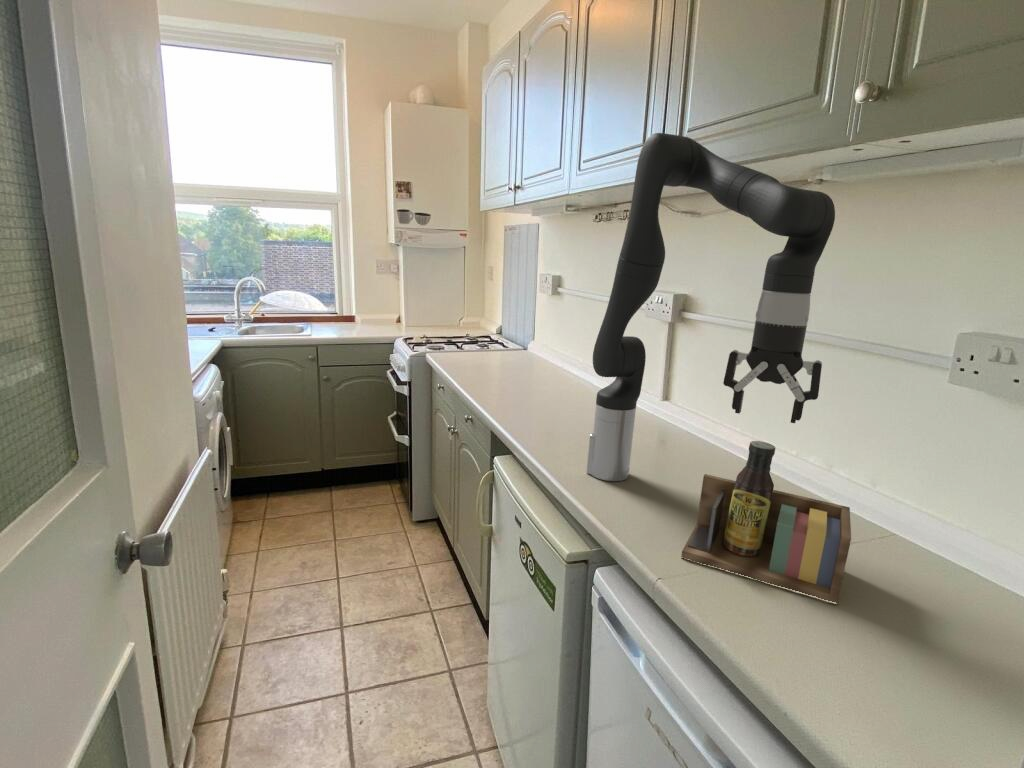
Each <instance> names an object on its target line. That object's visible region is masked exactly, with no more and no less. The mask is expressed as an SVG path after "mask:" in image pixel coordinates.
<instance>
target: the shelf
mask: <svg viewBox="0 0 1024 768" xmlns="http://www.w3.org/2000/svg"><path fill="white" fill-rule="evenodd" d="M735 483H736V480H734V479H728V478H723V477H719V476H715V475H711V474H707V473H705V474H704V475H703V479H702V485H701V490H700V491H701V492H700V499H699V500H700V501H699V506H698V513H697V519H696V524H695V527H694V529H693V530H692V532H691V534H690V536H689V538H688V540H687V541H686V543H685V544H684V547H683V549H682V550H681V556H680V557H683V558H686V559H690V560H692V561H695V562H699V563H702V564H706V565H710V566H714V567H717V568H721V569H724V570H728V571H730V572H734V573H738V574H741V575H744V576H748V577H751V578H753V579H757V580H760V581H764V582H767V583H770V584H774V585H777V586H781V587H785V588H788V589H792V590H795V591H799V592H802V593H805V594H808V595H812V596H816V597H818V598H821V599H824V600H828V601H832V602H836V603H837V604H838V602H839V597H840V592H841V589H842V588H841V587H842V583H843V579H844V574H845V568H846V564H847V559H848V555H849V551H850V546H851V541H852V527H851V526H852V525H851V507H849V506H846V505H841V504H837V503H833V502H832V503H831V502H827V501H825V500H820V499H815V498H811V497H806V496H803V495H798V494H794V493H789V492H785V491H780V490H777V489H776V490H775V489H773V492H772V496H771V504H770V508H769V513H768V517H767V522H766V526H765V531H764V535H763V540H762V544H761V547H760V550H759V553H758V554H756V555H754V556H752V557H747V556H743V555H737V554H735V553H733V552H731V551H729V550H728V549H727V548H726V547H725V546H724V543H723V542H724V533H725V528H726V523H727V518H728V513H729V508H730V503H731V499H732V494H733V490H734V488H735ZM721 490H725V496H724V502H723V509H722V515H721V522H720V528H719V533H718V535H717V538H716V540H715V542H714V544H713V546H712V549H711V551H710V553H708V552H705V551H701V550H698V549H694V548H691V547H688V544H689V542H690V540H691V539H692V537H693V535H694V533H695V531H696V529H697V527H698V526H703V527H707V528H710V522H711V515H712V509H713V506H714V504H715V502H716V500H717V498H718V496H719V494H720V492H721ZM782 504H784V505H788V506H792V507H797V510H796V511H797V512H801V513H805V514H809V512H810V508H812V509H817V510H821V511H825V512H827V517H831V518H835V519H840V543H839V548H838V553H837V557H836V562H835V567H834V572H833V577H832V581H831V586H830V588H827V587H824V586H821V585H817V584H814V583H810V582H807V581H804V580H800V579H797V578H793V577H790V576H786V575H783V574H780V573H776V572H773V571H769V566H770V561H771V555H772V550H773V544H774V539H775V533H776V527H777V522H778V518H779V514H780V510H781V506H782ZM692 561H691V562H692ZM695 562H694V563H695ZM702 564H701V565H702Z"/></svg>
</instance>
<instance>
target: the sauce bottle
mask: <svg viewBox="0 0 1024 768" xmlns="http://www.w3.org/2000/svg"><path fill="white" fill-rule="evenodd" d="M775 452H776V447H775V445H774V444H771V443H769V442H766V441H761V440H752V441H750V443H749V445H748V457H747V462H746V464H745V466H744V467H743V468H742V469H741V470H740V471H739V472H738V474H737V475H736V479H735V481H736V483H735V488H734V490H733V494H732V499H731V503H730V508H729V513H728V518H727V523H726V528H725V533H724V542H723V543H724V546H725V547H726V548H727V549H728V550H729V551H731V552H733V553H735V554H737V555H743V556H747V557H752V556H754V555H756V554H758V553H759V550H760V547H761V544H762V540H763V535H764V531H765V526H766V522H767V517H768V513H769V508H770V504H771V496H772V492H773V490H774V487H775V484H774V482H773V479H772V476H771V473H770V472H771V465H772V461H773V457H774V455H775Z"/></svg>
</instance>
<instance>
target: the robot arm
mask: <svg viewBox="0 0 1024 768" xmlns="http://www.w3.org/2000/svg"><path fill="white" fill-rule="evenodd" d="M636 164H637V165H636V170H635V177H634V181H633V182H634V183H633V191H632V197H631V202H630V203H631V205H630V211H629V216H628V219H627V224H626V230H625V234H624V238H623V243H622V245H621V249H620V251H619V252H620V253H619V257H618V259H617V260H618V261H617V264H616V269H615V275H614V278H613V284H612V288H611V291H610V296H609V300H608V303H607V306H606V307H607V308H606V311H605V314H604V317H603V318H602V319H603V320H602V323H601V325H600V327H599V330H598V331H599V332H598V334H597V338H596V340H595V343H594V347H593V351H592V367H593V371H594V372H595V374H596V375H597V376H599V377H602V378H615V380H613V382H612V383H610V384H609V385H607V386H605V387H604V388H601V389H599V390H598V392H597V393H596V398H595V399H596V401H595V409H594V410H595V411H594V419H593V420H594V422H593V431H592V433H591V434H590V435H589V441H588V453H587V454H588V455H587V464H586V474H589V475H591V476H592V477H594V478H595V479H596V478H597V479H598V480H603V481H606V482H607V481H608V482H622V481H625V480H627V479H628V478H629V475H630V474H629V473H630V466H631V465H630V464H631V457H632V456H631V455H632V449H633V448H632V447H633V439H634V431H635V430H634V428H635V420H636V419H635V418H636V412H637V403H638V400H639V398H640V395H641V391H642V387H643V380H644V379H643V377H644V373H645V369H646V368H645V367H646V359H647V358H646V357H647V356H646V348H645V345H644V342H643V341H642V340H641V339H640V338H639V337H637V336H629V335H628V336H627V335H626V336H625V335H624V334H625V331H626V329H627V326H628V324H629V322H630V321H631V319H632V318H633V317H634V315H635V314H636V313H637V312H638V311H639V310H640V308H641V307H642V306H643V305H644V304H645V302H647V301H648V299H650V298H651V296H652V294H653V293H654V292H655V290H656V289H657V287H658V284H659V281H660V278H661V274H662V270H663V268H664V264H665V260H666V246H665V241H664V237H663V233H662V230H661V225H660V219H659V209H660V202H661V198H662V193H663V189H664V187H665V186H666V187H671V188H672V187H674V188H676V187H677V188H678V187H687V188H694V189H698V190H702V191H705V192H707V193H708V194H709V195H711V196H712V197H713V199H714V200H715V201H716V202H717V203H719V204H720V205H721V206H723V207H725V208H727V209H728V210H731V211H733V212H735V213H738V214H740V215H741V216H744V217H746V218H750V220H752V221H753V222H754V223H755V224H756V225H758V226H759V227H760V228H762V229H763V230H765V231H767V232H769V233H772V234H774V235H778V236H781V237H788V238H787V241H786V243H785V245H784V248H783V250H782V251H781V252H778V253H775V254H773V255H770V257H768V260H767V262H766V267H765V270H764V277H763V283H762V290H761V294H760V298H759V300H758V303H757V304H758V305H757V309H756V311H755V321H754V328H753V334H752V340H751V341H752V342H751V347H750V348H751V349H750V351H749V352H748V353H745V352H741V351H739V350H737V349H734V350H732V351H730V352H729V355H728V360H727V364H726V369H725V373H724V378H723V382H722V383H723V385H724V386H726V387H729V388H730V389H732V390H733V395H732V396H733V397H732V401H731V407H732V410H735V411H734V414H737V415H738V414H740V413H741V412H742V407H743V401H744V395H745V390H744V388H745V387H747V385H749V384H750V383H752V382H753V381H754V380H755V379H757V380H759V382H762V383H767V382H769V383H770V382H771V383H773V384H776V385H781V384H786V385H787V387H788V389H789V390H790V391H791V393H792V394H793V397H794V402H793V407H792V411H791V418H790V424H791V423H792V424H796V422H797V421H800V420H801V418H802V415H803V410H804V406H805V405H804V404H805V402H806V401H807V402H808V401H811V400H812V401H815V400H817V399H818V398H819V392H820V391H819V390H820V384H821V374H822V368H823V362H822V361H820V360H814V361H809V360H804V359H803V356H802V355H803V348H804V343H805V338H806V332H807V327H808V322H809V316H810V309H811V297H812V296H811V293H812V289H813V284H814V278H815V271H816V267H817V264H818V262H819V260H820V258H821V257H822V254H823V252H824V250H825V247H826V245H827V243H828V240H829V239H830V237H831V234H832V231H833V227H834V226H835V225H834V224H835V219H836V208H835V204H834V201H833V200H832V197H830V195H828V194H827V193H825V192H823V191H818V190H810V189H805V188H804V189H803V188H798V187H793V186H790V185H786V184H783V183H781V182H780V181H779V180H778V179H776V178H775V177H774V176H772V175H769V174H767V173H764V172H761V171H758V170H756V169H753V168H751V167H747V166H745V165H741V164H739V163H734V162H732V161H729V160H726V159H724V158H722V157H720V156H719V155H717V154H715V153H713V152H712V151H710V150H709V149H708V148H706V147H705V146H704V145H702V144H700V143H699V142H698V141H696V140H694V139H692V138H691V137H688V136H684V135H677V134H671V133H665V132H655V133H652V134H651V135H650V136H648V137H647V139H646V140H645V141H644V143H643V146H642V147H641V149H640V153H639V156H638V159H637V163H636ZM744 360H746V363H747V365H748V367H749V368H750V369H751V370H750V371H749V372H748V373H746V375H744V377H742V378H741V379H740V380H739V381H738V380H736V379H734V378H735V374H736V370H737V366H739V365H741V364H742V363H743V361H744ZM802 368H804V369H805V370H806V374H807V375H809V376H811V378H810V379H811V380H810V388H809V390H807V391H806V390H805V391H804V390H803V387H802V386H801V385H800V383H799V381H798V379H797V377H796V376H795V375H796V374H797V373H798V372H800V370H802Z"/></svg>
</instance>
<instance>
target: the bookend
mask: <svg viewBox="0 0 1024 768" xmlns="http://www.w3.org/2000/svg"><path fill="white" fill-rule="evenodd" d="M724 496H725V490H721V492H720V494H719V496H718V498H717V500H716V502H715V504H714V506H713V509H712V515H711V522H710V528H707V527H703V526H698V527H697V529H696V531H695V533H694V535H693V537H692V539H691V540H690V542H689V544H688V547H691V548H694V549H698V550H701V551H705V552H708V553H710V551H711V549H712V546H713V544H714V542H715V540H716V538H717V535H718V533H719V528H720V522H721V515H722V509H723V502H724Z"/></svg>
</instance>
